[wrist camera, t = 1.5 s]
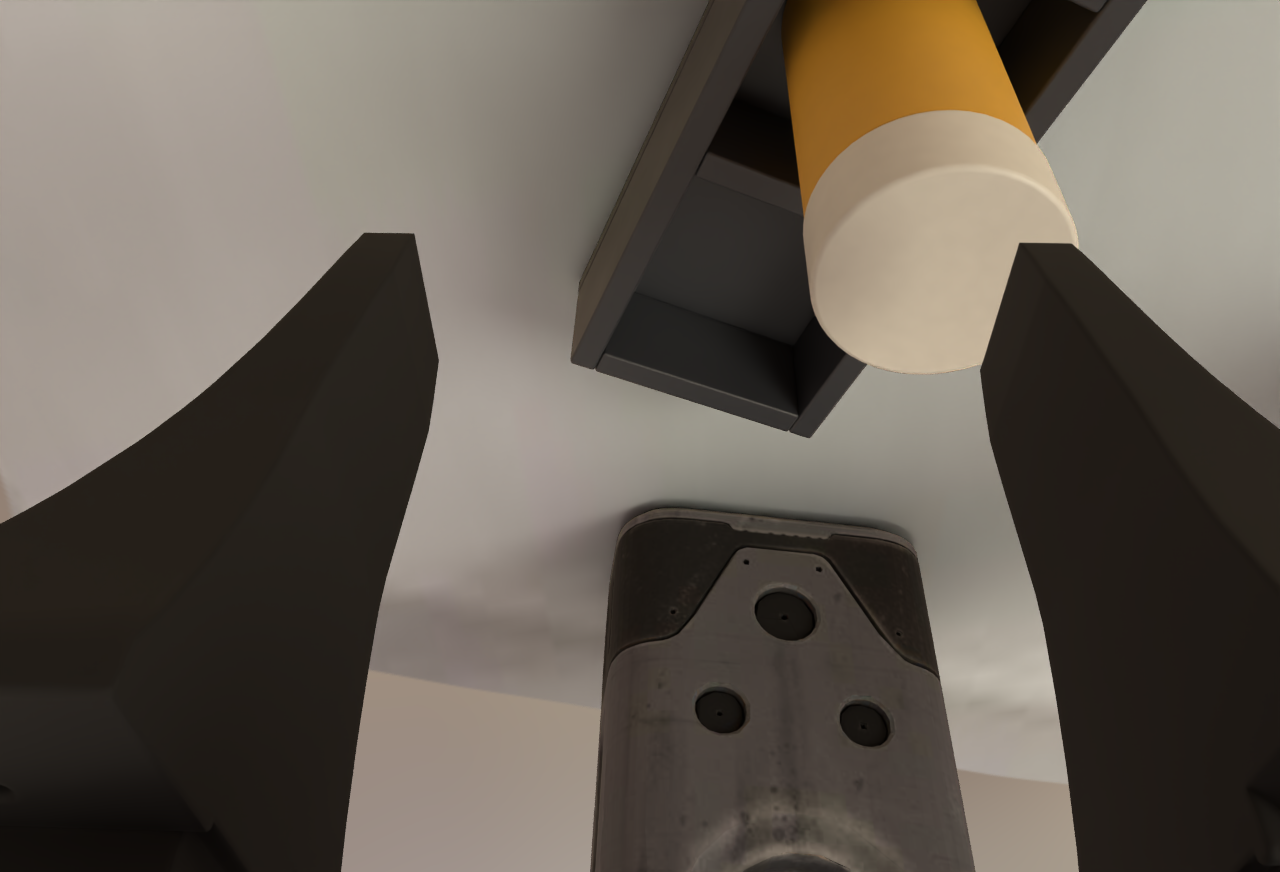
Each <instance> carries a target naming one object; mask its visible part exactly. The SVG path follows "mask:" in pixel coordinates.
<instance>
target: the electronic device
mask: <svg viewBox="0 0 1280 872" xmlns="http://www.w3.org/2000/svg"><path fill="white" fill-rule="evenodd" d="M590 872H975V866H974V861H973V856H972V850H971V845H970V840H969V834H968V828H967V823H966V818H965V812H964V807H963V801H962V797H961V790H960V785H959V780H958V775H957V769H956V763H955V758H954V752H953V747H952V742H951V736H950V731H949V725H948V720H947V714H946V709H945V704H944V698H943V693H942V687H941V683H940V676H939V671H938V666H937V660H936V655H935V649H934V644H933V638H932V633H931V627H930V622H929V617H928V611H927V606H926V600H925V595H924V589H923V584H922V578H921V573H920V567H919V563H918V558H917V553H916V551H915V549H914V547H913V546H912V544H910V543H909V542H908V541H907V540H906V539H904V538H902V537H900V536H898V535H895V534H892V533H889V532H886V531H882V530H878V529H875V528H869V527H861V526H851V525H842V524H832V523H823V522H813V521H804V520H794V519H785V518H775V517H765V516H756V515H746V514H737V513H727V512H718V511H708V510H699V509H689V508H661V509H655V510H651V511H649V512H646V513H644V514H641V515H639V516H636V517H635V518H633V519H632V520H630V521H629V522H628V523H626V524H625V526H624V527H623V528H622V530H621V532H620V534H619V536H618V540H617V544H616V549H615V555H614V561H613V566H612V572H611V578H610V584H609V596H608V609H607V622H606V636H605V651H604V666H603V684H602V705H601V720H600V735H599V751H598V766H597V782H596V796H595V810H594V823H593V839H592V854H591V869H590Z"/></svg>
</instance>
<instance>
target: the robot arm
mask: <svg viewBox="0 0 1280 872" xmlns="http://www.w3.org/2000/svg"><path fill="white" fill-rule="evenodd" d="M438 363H439V359H438V354H437V349H436V344H435V339H434V333H433V328H432V323H431V318H430V313H429V308H428V302H427V297H426V292H425V287H424V282H423V277H422V271H421V266H420V261H419V256H418V251H417V246H416V240H415V235H414V234H410V233H364V234H363V235H362V236H361V237H360V238H359V239H358V240H357V241H356V242H355V243H354V244H353V245H352V246H351V247H350V248H349V249H348V250H347V251H346V252H345V253H344V254H343V255H342V256H341V257H340V258H339V259H338V260H337V261H336V263H335V264H334V265H333V266H332V267H331V268H330V269H329V270H328V271H327V272H326V273H325V274H324V275H323V276H322V278H321V279H320V280H319V281H318V282H317V283H316V284H315V285H314V286H313V287H312V288H311V289H310V290H309V291H308V292H307V294H306V295H305V296H304V297H303V298H302V299H301V300H300V301H299V302H298V303H297V304H296V305H295V306H294V307H293V308H292V309H291V310H290V311H289V312H288V313H287V314H286V315H285V316H284V317H283V318H282V319H281V320H280V321H279V322H278V323H277V324H276V325H275V326H274V327H273V328H272V329H271V330H270V331H269V332H268V333H267V334H266V335H265V336H264V337H263V338H262V339H261V340H260V341H259V342H258V343H257V344H256V345H255V346H254V347H253V348H252V349H251V350H250V351H248V352H247V353H246V354H245V355H244V356H243V357H242V358H241V359H240V360H239V361H237V362H236V363H235V364H234V365H233V366H232V367H231V368H230V369H229V370H228V371H227V372H225V373H224V374H223V375H222V376H221V377H220V378H219V379H218V380H217V381H216V382H214V383H213V384H212V385H211V386H210V387H209V388H207V389H206V390H205V391H204V392H203V393H201V394H200V395H199V396H198V397H196V398H195V399H194V400H193V401H191V402H190V403H189V404H188V405H186V406H185V407H184V408H183V409H181V410H180V411H179V412H177V413H176V414H175V415H173V416H172V417H171V418H169V419H168V420H167V421H165V422H164V423H163V424H161V425H160V426H159V427H157V428H156V429H155V430H153V431H152V432H151V433H149V434H148V435H146V436H145V437H144V438H142V439H141V440H139V441H138V442H136V443H135V444H133V445H132V446H130V447H129V448H127V449H126V450H124V451H123V452H121V453H119V454H118V455H116V456H115V457H113V458H112V459H110V460H109V461H107V462H105V463H104V464H102V465H101V466H99V467H98V468H96V469H95V470H93V471H91V472H90V473H88V474H87V475H85V476H84V477H82V478H81V479H79V480H77V481H76V482H74V483H73V484H71V485H70V486H68V487H66V488H65V489H63V490H61V491H59V492H58V493H56V494H54V495H52V496H51V497H49V498H47V499H45V500H44V501H42V502H40V503H38V504H36V505H35V506H33V507H31V508H29V509H28V510H26V511H24V512H22V513H20V514H18V515H16V516H14V517H13V518H11V519H9V520H7V521H5V522H3V523H1V524H0V872H341V866H342V857H343V848H344V839H345V829H346V822H347V814H348V807H349V799H350V791H351V784H352V776H353V769H354V760H355V754H356V746H357V740H358V733H359V726H360V719H361V713H362V707H363V700H364V694H365V687H366V680H367V675H368V669H369V663H370V657H371V651H372V646H373V640H374V634H375V628H376V622H377V617H378V611H379V606H380V602H381V598H382V594H383V589H384V585H385V581H386V577H387V573H388V570H389V567H390V563H391V560H392V556H393V553H394V549H395V546H396V543H397V539H398V536H399V532H400V529H401V526H402V522H403V519H404V515H405V512H406V508H407V505H408V502H409V498H410V495H411V491H412V488H413V485H414V481H415V478H416V474H417V470H418V467H419V463H420V460H421V456H422V453H423V449H424V446H425V442H426V438H427V435H428V431H429V425H430V419H431V413H432V406H433V400H434V393H435V385H436V378H437V370H438ZM980 373H981V381H982V389H983V397H984V404H985V412H986V418H987V424H988V430H989V437H990V442H991V446H992V450H993V453H994V457H995V460H996V464H997V467H998V471H999V474H1000V477H1001V481H1002V484H1003V488H1004V491H1005V494H1006V498H1007V501H1008V504H1009V508H1010V511H1011V514H1012V518H1013V521H1014V524H1015V528H1016V531H1017V534H1018V537H1019V541H1020V544H1021V547H1022V551H1023V554H1024V557H1025V561H1026V564H1027V567H1028V571H1029V574H1030V577H1031V580H1032V584H1033V587H1034V590H1035V594H1036V598H1037V602H1038V606H1039V610H1040V614H1041V618H1042V622H1043V627H1044V632H1045V638H1046V643H1047V649H1048V655H1049V660H1050V666H1051V672H1052V677H1053V683H1054V689H1055V694H1056V701H1057V707H1058V714H1059V720H1060V727H1061V734H1062V740H1063V747H1064V753H1065V760H1066V766H1067V774H1068V782H1069V789H1070V798H1071V806H1072V814H1073V822H1074V830H1075V837H1076V846H1077V856H1078V866H1079V872H1280V429H1279V428H1278V427H1276V426H1275V425H1274V424H1272V423H1271V422H1270V421H1268V420H1267V419H1266V418H1264V417H1263V416H1262V415H1260V414H1259V413H1258V412H1257V411H1255V410H1254V409H1253V408H1252V407H1250V406H1249V405H1248V404H1247V403H1245V402H1244V401H1243V400H1242V399H1241V398H1239V397H1238V396H1237V395H1236V394H1235V393H1233V392H1232V391H1231V390H1230V389H1228V388H1227V387H1226V386H1225V385H1224V384H1222V383H1221V382H1220V381H1219V380H1217V379H1216V378H1215V377H1214V376H1213V375H1212V374H1210V373H1209V372H1208V371H1207V370H1206V369H1205V368H1204V367H1202V366H1201V365H1200V364H1199V363H1198V362H1197V361H1196V360H1194V359H1193V358H1192V357H1191V356H1190V355H1189V354H1188V353H1187V352H1186V351H1184V350H1183V349H1182V348H1181V347H1180V346H1179V345H1178V344H1177V343H1176V342H1175V341H1174V340H1172V339H1171V338H1170V337H1169V336H1168V335H1167V334H1166V333H1165V332H1164V331H1163V330H1162V329H1161V328H1160V327H1159V326H1158V325H1156V324H1155V323H1154V322H1153V321H1152V320H1151V319H1150V318H1149V317H1148V316H1147V315H1146V314H1145V313H1144V312H1143V311H1142V310H1141V309H1140V308H1139V307H1138V306H1137V305H1136V304H1135V303H1134V302H1133V301H1132V300H1131V299H1130V298H1129V297H1127V296H1126V295H1125V294H1124V293H1123V292H1122V291H1121V290H1120V289H1119V288H1118V287H1117V286H1116V285H1115V284H1114V283H1113V282H1112V281H1111V280H1110V279H1109V278H1108V277H1107V276H1106V275H1105V274H1104V273H1103V272H1102V271H1101V270H1100V269H1099V268H1098V267H1097V266H1096V265H1095V264H1094V263H1093V262H1092V261H1091V260H1089V259H1088V258H1087V257H1086V256H1085V255H1084V254H1083V253H1082V252H1081V251H1080V250H1079V249H1077V248H1076V247H1075V246H1074V245H1073V244H1072V243H1019V245H1018V248H1017V252H1016V255H1015V258H1014V262H1013V265H1012V268H1011V271H1010V275H1009V278H1008V281H1007V284H1006V288H1005V291H1004V294H1003V297H1002V301H1001V304H1000V307H999V311H998V314H997V317H996V320H995V324H994V327H993V330H992V333H991V337H990V340H989V343H988V347H987V350H986V353H985V356H984V360H983V363H982V366H981V369H980Z"/></svg>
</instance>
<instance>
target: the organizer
mask: <svg viewBox="0 0 1280 872" xmlns="http://www.w3.org/2000/svg"><path fill="white" fill-rule="evenodd" d="M976 1H977V3H978V6H979V8H980V11H981V13H982V15H983V18H984V20H985V22H986V25H987V27H988V30H989V32H990V34H991V37H992V39H993V41H994V44H995V46H996V49H997V51H998V53H999V56H1000V58H1001V60H1002V63H1003V65H1004V68H1005V70H1006V72H1007V75H1008V77H1009V79H1010V82H1011V84H1012V87H1013V89H1014V91H1015V94H1016V96H1017V98H1018V101H1019V103H1020V106H1021V108H1022V110H1023V113H1024V115H1025V117H1026V120H1027V122H1028V125H1029V127H1030V129H1031V132H1032V134H1033V136H1034V139H1035V141H1036V144H1037V143H1038V141H1039V140H1040V139H1041V138H1042V136H1043V135H1044V134H1045V132H1046V131H1047V130H1048V128H1049V127H1050V126H1051V125H1052V123H1053V122H1054V121H1055V119H1056V118H1057V117H1058V116H1059V114H1060V113H1061V112H1062V110H1063V109H1064V108H1065V106H1066V105H1067V104H1068V103H1069V101H1070V100H1071V99H1072V97H1073V96H1074V95H1075V93H1076V92H1077V91H1078V90H1079V88H1080V87H1081V86H1082V84H1083V83H1084V82H1085V80H1086V79H1087V78H1088V77H1089V75H1090V74H1091V73H1092V71H1093V70H1094V69H1095V67H1096V66H1097V65H1098V64H1099V62H1100V61H1101V60H1102V58H1103V57H1104V56H1105V54H1106V53H1107V52H1108V51H1109V49H1110V48H1111V47H1112V45H1113V44H1114V43H1115V41H1116V40H1117V39H1118V38H1119V36H1120V35H1121V34H1122V32H1123V31H1124V30H1125V28H1126V27H1127V26H1128V25H1129V23H1130V22H1131V21H1132V19H1133V18H1134V17H1135V15H1136V14H1137V13H1138V12H1139V10H1140V9H1141V8H1142V6H1143V5H1144V4H1145V2H1146V1H1147V0H976ZM786 3H787V0H710V1H709V3H708V5H707V8H706V10H705V12H704V14H703V16H702V18H701V21H700V23H699V25H698V27H697V29H696V31H695V34H694V36H693V38H692V40H691V42H690V44H689V47H688V49H687V51H686V53H685V55H684V57H683V60H682V62H681V64H680V66H679V68H678V70H677V73H676V75H675V77H674V79H673V81H672V83H671V85H670V88H669V90H668V92H667V94H666V96H665V98H664V101H663V103H662V105H661V107H660V109H659V111H658V114H657V116H656V118H655V120H654V122H653V124H652V127H651V129H650V131H649V133H648V135H647V137H646V140H645V142H644V144H643V146H642V148H641V150H640V153H639V155H638V157H637V159H636V161H635V163H634V166H633V168H632V170H631V172H630V174H629V176H628V179H627V181H626V183H625V185H624V187H623V189H622V192H621V194H620V196H619V198H618V200H617V202H616V205H615V207H614V209H613V211H612V213H611V215H610V218H609V220H608V222H607V224H606V226H605V228H604V231H603V233H602V235H601V237H600V239H599V241H598V244H597V246H596V248H595V250H594V252H593V254H592V257H591V259H590V261H589V263H588V265H587V267H586V270H585V272H584V274H583V276H582V278H581V280H580V282H579V290H578V292H579V293H578V301H577V309H576V318H575V326H574V335H573V343H572V352H571V362H572V363H573V364H577V365H580V366H583V367H586V368H589V369H596V371H598V372H601V373H604V374H607V375H610V376H613V377H617V378H620V379H623V380H626V381H629V382H632V383H636V384H639V385H642V386H645V387H648V388H651V389H654V390H658V391H661V392H664V393H667V394H670V395H673V396H676V397H680V398H683V399H686V400H689V401H692V402H695V403H698V404H702V405H705V406H708V407H711V408H714V409H717V410H720V411H724V412H727V413H730V414H733V415H736V416H739V417H743V418H746V419H749V420H752V421H755V422H758V423H761V424H765V425H768V426H771V427H774V428H777V429H780V430H783V431H788V430H789V431H790V432H791V433H794V434H797V435H800V436H803V437H806V438H810V437H811V436H812V435H813V434H814V433H815V431H816V430H817V429H818V427H819V426H820V425H821V423H822V422H823V421H824V420H825V418H826V417H827V416H828V414H829V413H830V412H831V410H832V409H833V408H834V407H835V405H836V404H837V403H838V401H839V400H840V399H841V397H842V396H843V395H844V394H845V392H846V391H847V390H848V388H849V387H850V386H851V384H852V383H853V382H854V381H855V379H856V378H857V377H858V375H859V374H860V373H861V371H862V370H863V369H864V368H865V366H866V365H867V364H866V363H863V362H861V361H859V360H857V359H856V358H854V357H852V356H850V355H849V354H847V353H846V352H845V351H843V350H842V349H841V348H840V347H838V346H837V345H836V344H835V343H834V342H833V341H832V340H831V338H830V337H829V336H828V335H827V334H826V333H825V331H824V330H823V328H822V327H821V326H820V324H819V322H818V320H817V318H816V316H815V313H814V310H813V307H812V303H811V297H810V289H809V281H808V273H807V265H806V256H805V248H804V240H803V222H804V214H803V206H802V198H801V190H800V182H799V174H798V166H797V158H796V150H795V142H794V134H793V126H792V118H791V110H790V102H789V94H788V86H787V78H786V70H785V62H784V55H783V46H782V38H781V30H782V19H783V13H784V10H785V6H786Z"/></svg>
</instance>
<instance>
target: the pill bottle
mask: <svg viewBox="0 0 1280 872" xmlns="http://www.w3.org/2000/svg"><path fill="white" fill-rule="evenodd" d="M781 38H782V46H783V55H784V62H785V70H786V78H787V86H788V94H789V102H790V110H791V118H792V126H793V134H794V142H795V150H796V158H797V166H798V174H799V182H800V190H801V198H802V206H803V214H804V222H803V240H804V248H805V256H806V265H807V273H808V281H809V289H810V297H811V303H812V307H813V310H814V313H815V316H816V318H817V320H818V322H819V324H820V326H821V327H822V328H823V330H824V331H825V333H826V334H827V335H828V336H829V337H830V338H831V340H832V341H833V342H834V343H835V344H836V345H837V346H838V347H840V348H841V349H842V350H843V351H845V352H846V353H847V354H849V355H850V356H852V357H854V358H856V359H857V360H859V361H861V362H863V363H866V364H868V365H871V366H873V367H876V368H880V369H883V370H887V371H891V372H897V373H904V374H939V373H947V372H953V371H958V370H962V369H967V368H970V367H973V366H976V365H980V364H982V363H983V360H984V356H985V353H986V350H987V347H988V343H989V340H990V337H991V333H992V330H993V327H994V324H995V320H996V317H997V314H998V311H999V307H1000V304H1001V301H1002V297H1003V294H1004V291H1005V288H1006V284H1007V281H1008V278H1009V275H1010V271H1011V268H1012V265H1013V262H1014V258H1015V255H1016V252H1017V248H1018V245H1019V243H1072V244H1073V245H1074V246H1075V247H1076V248H1077V249H1079V244H1078V235H1077V231H1076V227H1075V223H1074V221H1073V219H1072V216H1071V214H1070V212H1069V209H1068V207H1067V205H1066V202H1065V200H1064V197H1063V195H1062V193H1061V190H1060V188H1059V186H1058V183H1057V181H1056V179H1055V176H1054V174H1053V172H1052V169H1051V167H1050V165H1049V163H1048V161H1047V158H1046V157H1045V155H1044V154H1043V153H1042V151H1041V150H1040V148H1039V147H1038V146H1037V144H1036V141H1035V139H1034V136H1033V134H1032V132H1031V129H1030V127H1029V125H1028V122H1027V120H1026V117H1025V115H1024V113H1023V110H1022V108H1021V106H1020V103H1019V101H1018V98H1017V96H1016V94H1015V91H1014V89H1013V87H1012V84H1011V82H1010V79H1009V77H1008V75H1007V72H1006V70H1005V68H1004V65H1003V63H1002V60H1001V58H1000V56H999V53H998V51H997V49H996V46H995V44H994V41H993V39H992V37H991V34H990V32H989V30H988V27H987V25H986V22H985V20H984V18H983V15H982V13H981V11H980V8H979V6H978V3H977V1H976V0H787V3H786V6H785V10H784V13H783V19H782V30H781Z"/></svg>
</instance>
